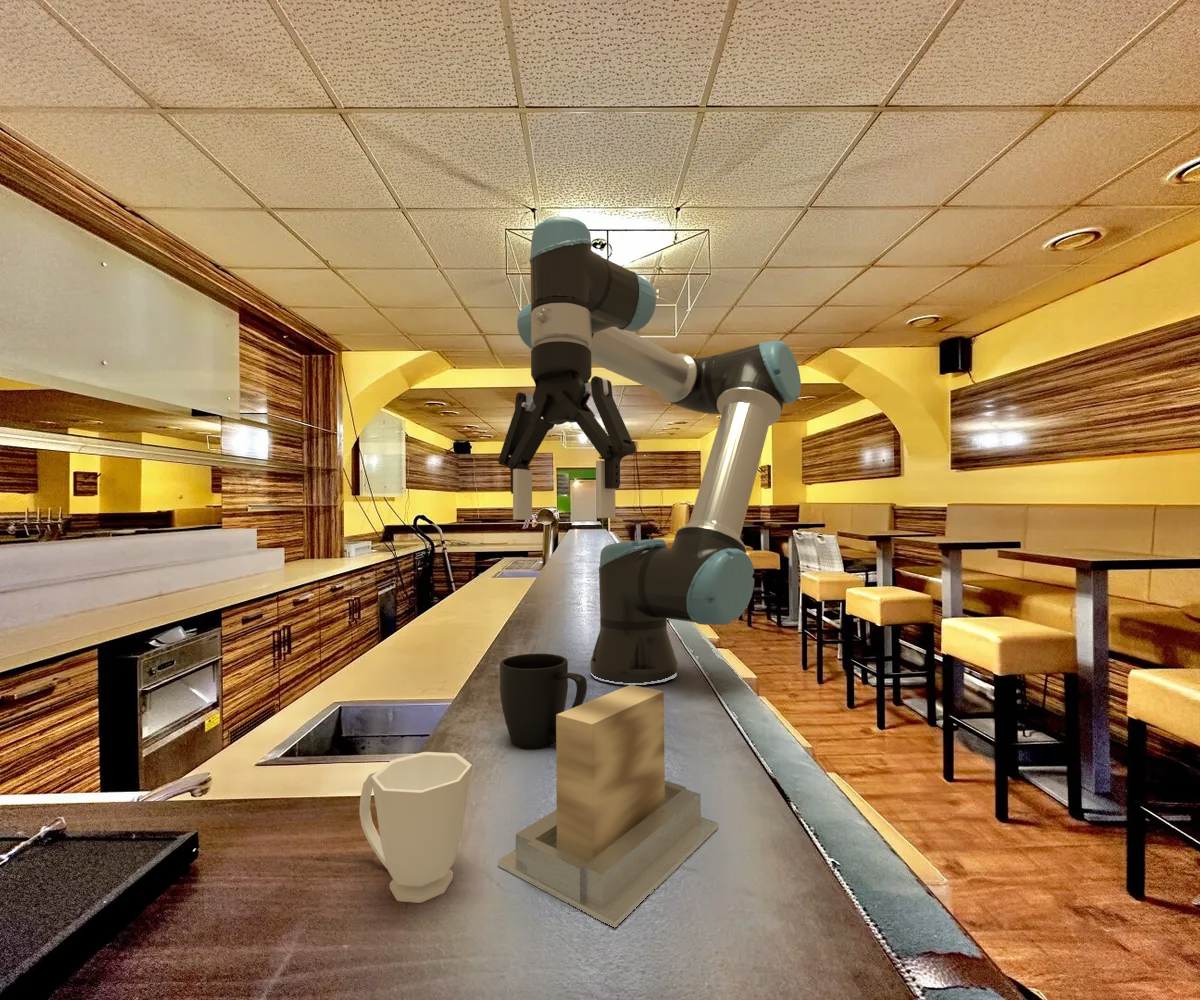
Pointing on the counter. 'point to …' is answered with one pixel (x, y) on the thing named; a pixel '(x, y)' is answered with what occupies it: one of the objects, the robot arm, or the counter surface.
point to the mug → (536, 697)
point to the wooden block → (608, 768)
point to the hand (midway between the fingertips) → (561, 519)
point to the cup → (417, 820)
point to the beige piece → (613, 858)
